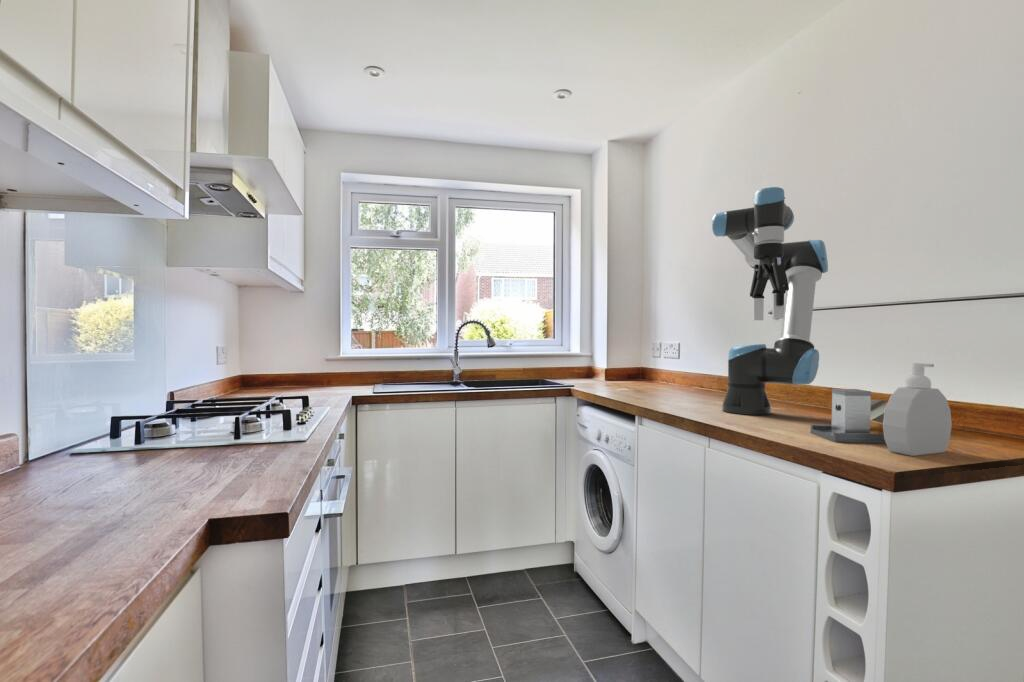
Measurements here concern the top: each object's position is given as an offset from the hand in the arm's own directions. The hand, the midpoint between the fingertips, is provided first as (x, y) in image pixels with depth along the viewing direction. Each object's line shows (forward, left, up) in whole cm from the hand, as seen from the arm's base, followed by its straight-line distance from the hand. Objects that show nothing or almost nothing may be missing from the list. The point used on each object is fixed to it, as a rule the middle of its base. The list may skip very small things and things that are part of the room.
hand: (767, 319), depth 140 cm
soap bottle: (+27, +22, -31) cm, 47 cm away
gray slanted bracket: (-7, +31, -31) cm, 45 cm away
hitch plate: (+12, +16, -31) cm, 37 cm away
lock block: (+12, +16, -29) cm, 36 cm away
